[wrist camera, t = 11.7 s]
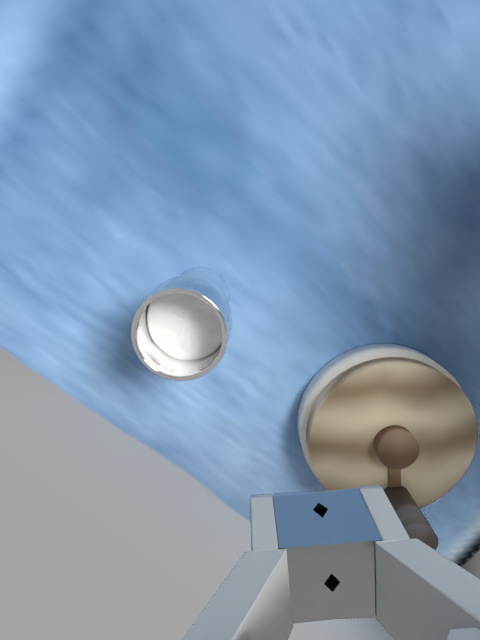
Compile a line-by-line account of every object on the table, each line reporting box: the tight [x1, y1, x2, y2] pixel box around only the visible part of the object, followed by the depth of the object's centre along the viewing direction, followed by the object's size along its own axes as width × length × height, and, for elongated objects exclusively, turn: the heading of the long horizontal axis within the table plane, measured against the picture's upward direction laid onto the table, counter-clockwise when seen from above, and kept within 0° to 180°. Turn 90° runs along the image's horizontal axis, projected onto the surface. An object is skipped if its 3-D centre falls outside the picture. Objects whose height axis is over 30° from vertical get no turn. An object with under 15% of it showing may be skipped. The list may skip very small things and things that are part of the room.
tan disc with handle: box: [306, 357, 478, 550], centre depth 37 cm, size 17×17×8 cm
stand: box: [297, 343, 462, 477], centre depth 42 cm, size 18×20×6 cm
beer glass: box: [131, 267, 232, 381], centre depth 33 cm, size 7×7×15 cm
